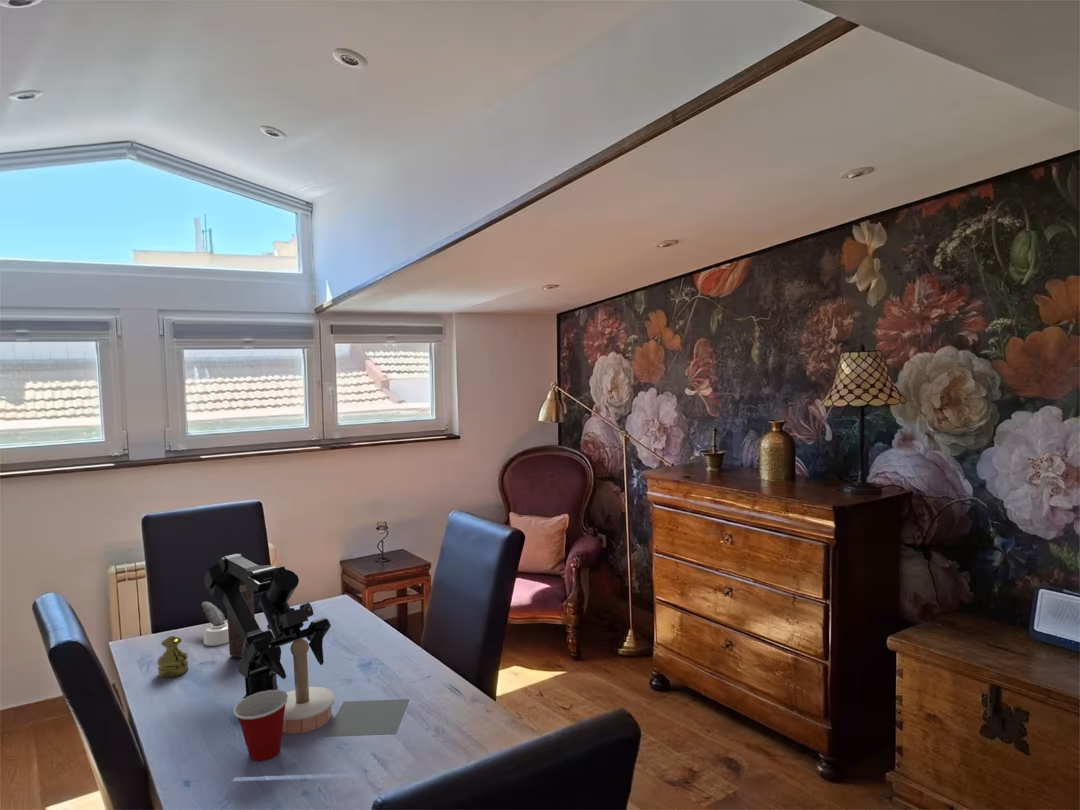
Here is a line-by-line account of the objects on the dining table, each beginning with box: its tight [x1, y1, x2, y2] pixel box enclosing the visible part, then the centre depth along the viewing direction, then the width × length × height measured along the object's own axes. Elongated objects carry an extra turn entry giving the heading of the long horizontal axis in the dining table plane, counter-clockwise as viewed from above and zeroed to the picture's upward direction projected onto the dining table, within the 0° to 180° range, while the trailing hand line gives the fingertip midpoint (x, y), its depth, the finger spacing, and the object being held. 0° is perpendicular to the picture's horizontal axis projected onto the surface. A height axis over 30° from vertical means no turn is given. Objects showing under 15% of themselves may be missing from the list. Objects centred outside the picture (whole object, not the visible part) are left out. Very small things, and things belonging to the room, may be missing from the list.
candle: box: [226, 584, 256, 658], centre depth 200 cm, size 8×7×20 cm
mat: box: [323, 698, 410, 738], centre depth 161 cm, size 16×16×1 cm
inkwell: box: [201, 601, 229, 647], centre depth 216 cm, size 9×18×10 cm, turn 49°
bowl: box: [282, 706, 333, 734], centre depth 161 cm, size 12×12×4 cm
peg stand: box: [283, 638, 335, 720], centre depth 160 cm, size 14×14×16 cm
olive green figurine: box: [156, 635, 189, 679], centre depth 190 cm, size 7×7×10 cm
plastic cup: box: [232, 689, 288, 762], centre depth 146 cm, size 11×11×12 cm
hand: (304, 671), depth 159 cm, fingers open, 9 cm apart
